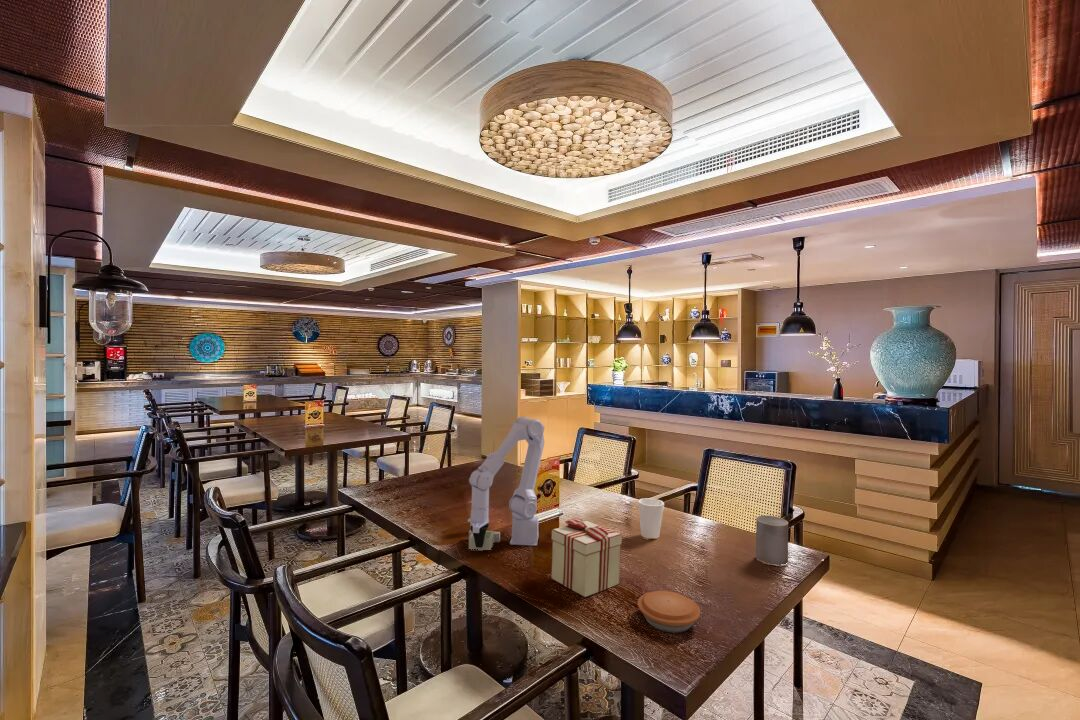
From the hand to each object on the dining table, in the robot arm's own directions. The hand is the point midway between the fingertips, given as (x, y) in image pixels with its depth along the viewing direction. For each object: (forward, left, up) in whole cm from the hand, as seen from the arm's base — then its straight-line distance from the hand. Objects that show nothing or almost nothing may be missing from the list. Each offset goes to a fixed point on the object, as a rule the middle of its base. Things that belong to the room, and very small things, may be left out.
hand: (479, 546), depth 162 cm
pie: (-55, +36, -2) cm, 66 cm away
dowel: (+5, -17, -2) cm, 18 cm away
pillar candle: (-97, -4, -2) cm, 98 cm away
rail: (0, -10, -2) cm, 10 cm away
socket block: (0, -5, -2) cm, 5 cm away
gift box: (-35, +16, -2) cm, 39 cm away
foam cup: (-60, -21, -2) cm, 64 cm away
